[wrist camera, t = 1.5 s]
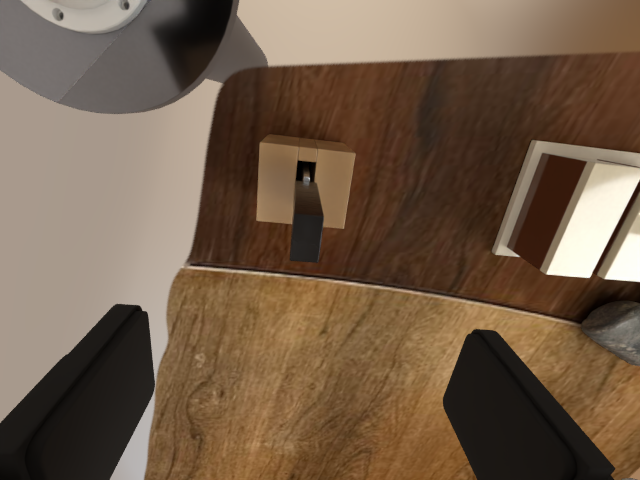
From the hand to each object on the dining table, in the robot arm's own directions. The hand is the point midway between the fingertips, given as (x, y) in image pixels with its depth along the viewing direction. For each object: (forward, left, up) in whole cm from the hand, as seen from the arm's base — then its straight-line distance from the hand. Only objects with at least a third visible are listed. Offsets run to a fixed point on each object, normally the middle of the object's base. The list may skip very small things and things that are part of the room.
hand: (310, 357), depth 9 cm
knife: (-1, +1, -24) cm, 24 cm away
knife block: (-1, +1, -24) cm, 24 cm away
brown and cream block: (+19, +20, -24) cm, 36 cm away
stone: (+36, +23, -21) cm, 48 cm away
